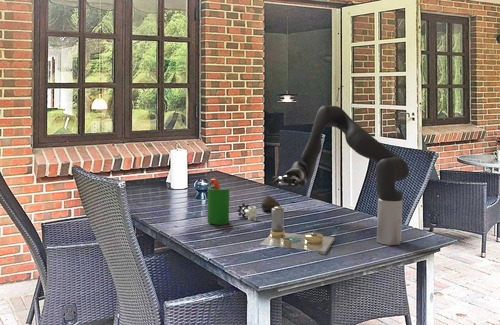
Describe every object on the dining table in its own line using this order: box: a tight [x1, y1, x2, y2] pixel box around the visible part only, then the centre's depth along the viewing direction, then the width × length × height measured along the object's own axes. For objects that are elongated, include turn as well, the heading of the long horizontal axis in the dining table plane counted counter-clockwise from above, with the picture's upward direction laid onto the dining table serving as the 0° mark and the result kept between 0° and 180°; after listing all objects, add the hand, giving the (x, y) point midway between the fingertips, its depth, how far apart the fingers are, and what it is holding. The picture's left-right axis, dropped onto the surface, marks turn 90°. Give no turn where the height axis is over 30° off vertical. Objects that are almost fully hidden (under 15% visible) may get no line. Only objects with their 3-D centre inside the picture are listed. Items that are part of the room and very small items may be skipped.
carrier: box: [259, 231, 335, 255], centre depth 205 cm, size 25×19×4 cm
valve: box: [236, 202, 258, 222], centre depth 243 cm, size 7×7×12 cm
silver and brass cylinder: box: [269, 206, 286, 238], centre depth 212 cm, size 6×6×12 cm
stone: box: [260, 195, 281, 212], centre depth 262 cm, size 10×8×10 cm
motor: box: [207, 178, 230, 226], centre depth 237 cm, size 10×9×20 cm
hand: (285, 183), depth 220 cm, fingers open, 8 cm apart
